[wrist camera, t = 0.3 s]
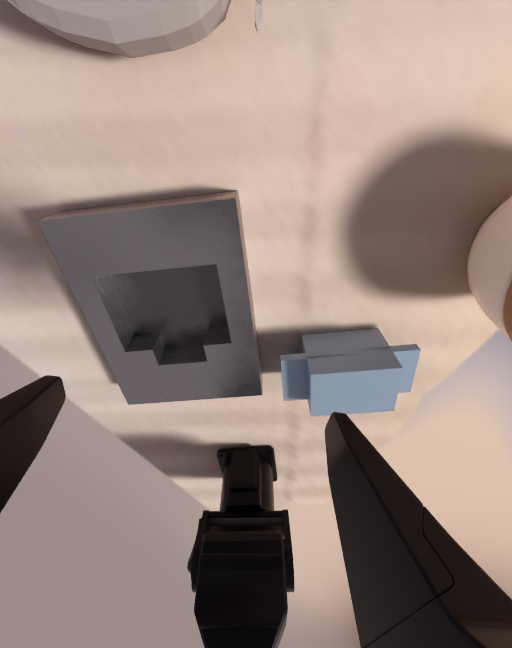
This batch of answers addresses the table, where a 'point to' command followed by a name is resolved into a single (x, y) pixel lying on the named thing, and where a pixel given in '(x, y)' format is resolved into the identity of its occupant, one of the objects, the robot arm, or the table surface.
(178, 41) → the robot toy
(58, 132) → the table surface
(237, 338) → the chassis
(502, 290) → the lidded jar
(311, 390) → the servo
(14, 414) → the robot arm
